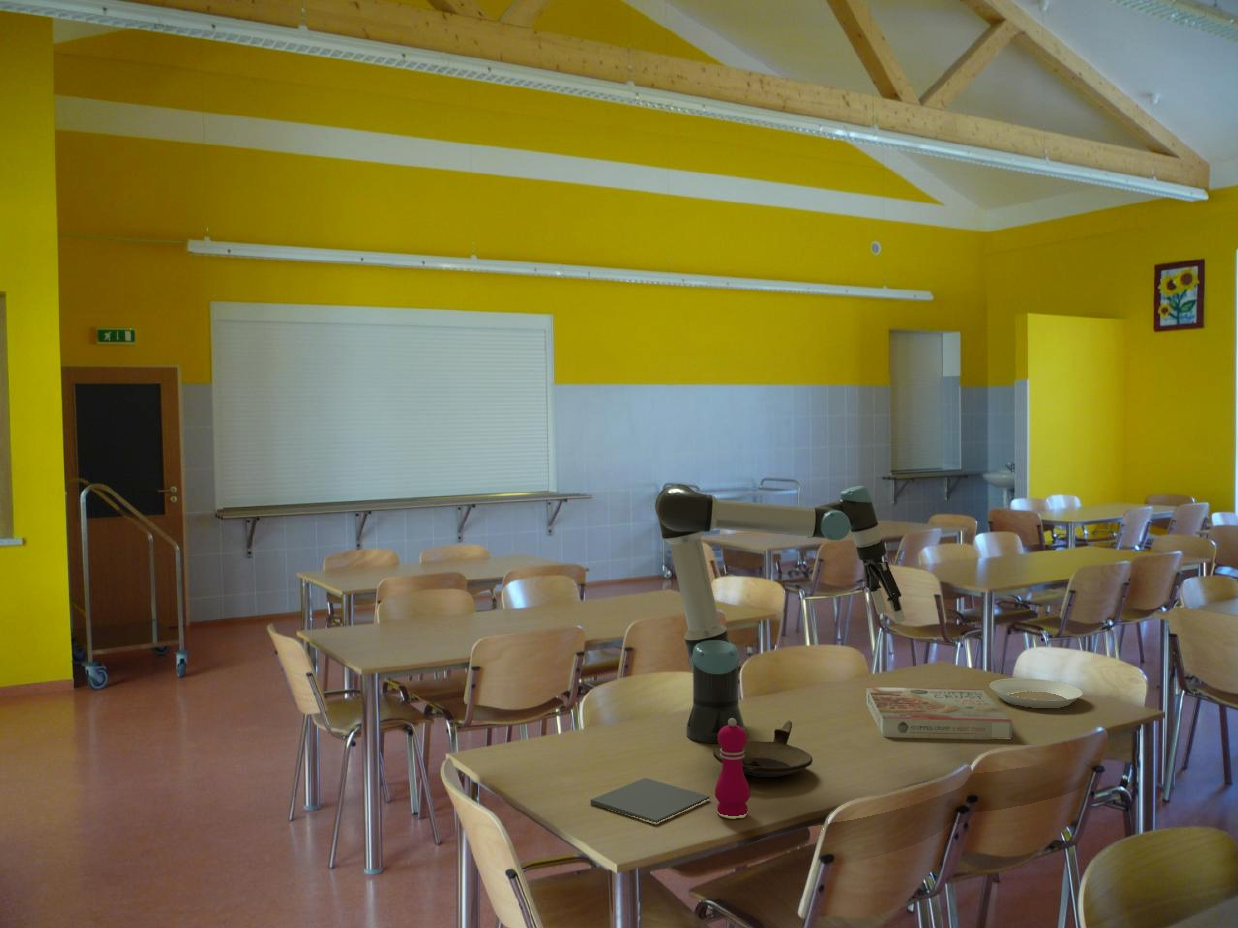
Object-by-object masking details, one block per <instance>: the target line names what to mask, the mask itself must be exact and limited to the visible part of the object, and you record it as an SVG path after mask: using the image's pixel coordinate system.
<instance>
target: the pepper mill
mask: <svg viewBox="0 0 1238 928" xmlns="http://www.w3.org/2000/svg"><path fill="white" fill-rule="evenodd" d="M728 724H729V725H727V726H724V727H723V728H722V729H721V730H720V731H719V733H718V743H717V744H719V746H720V748H719V749H720V752H721V753H720V756H721V757H722V761H723V763H721V764H722V765H721V767H722V768H721V772H720V774H719V777H718V779H717V782H716V784H715V787H714V797H715V799H716V801H718V803H717V805H716V809H717V810H716V811H718V812H719V813H720V814H723V815H728V816H739V815H744V814H746V813H747V811H749V808H748V804H747V802H748V801H749V800H750V797H751V791H750V787H749V783H748V781H747V779H746V776H745V774H744V773H743V769H742V764H743V763H742V758H743V757H744V756H745V755H744V751H745V750H744V749H743V747H744V746H745V745H746V743H747V741H748V735H747V733H746V730H745V731H744V730H743V729H742V728H741V727H739V726H737V725H736V724H737V722H736V720H735V719H734V718H730V719H729V720H728Z"/></svg>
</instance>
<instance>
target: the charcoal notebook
mask: <svg viewBox="0 0 1238 928" xmlns="http://www.w3.org/2000/svg"><path fill="white" fill-rule="evenodd" d="M710 797H711V795H706V794H703V793H700V792H696V791H692V790H689V789H686V788H684V787H683V788H682V787H679V786H676V785H675V786H674V785H673V784H668V783H664V782H661V781H658V780H654V779H651V778H647V777H644V778H641V779H639V780H637V781H633V782H631V783H628V784H626V785H624V786H622V787H618V788H616V789H614V790H611V791H609V792H607V793H604V794H601V795H599V796H595V797H593V798H591V799H590V805H591V804H592V806H595V805H596V806H595V807H598V806H599V807H598V808H601V807H603V808H602V809H604V808H606V809H605V810H607V809H610V810H613V811H616V812H620V813H623V814H627V815H630V816H635V817H638V818H642V819H645V820H649V821H652V822H656V823H657V822H659V821H661V820H663V819H666V818H668V817H670V816H672V815H675V814H677V813H679V812H682V811H684V810H686V809H688V808H690V807H692V806H694V805H696V804H699V803H701V802H702V801H704V800H707V799H709V798H710ZM710 799H711V798H710ZM610 810H609V811H610ZM613 811H612V812H613ZM616 812H615V813H616Z"/></svg>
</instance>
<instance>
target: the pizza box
mask: <svg viewBox="0 0 1238 928" xmlns="http://www.w3.org/2000/svg"><path fill="white" fill-rule="evenodd" d="M865 700H866V702H865V703H866V705H867V708H868V710H869V711H870V714H871V715H872V718H873V720H874V721H875V723H876V726H877V727H878V730H879V732H880V733H881V736H882V737H883V738H906V739H908V738H914V739H917V738H918V739H952V740H953V739H957V740H989V739H999V738H1000V739H1001V738H1002V739H1004V738H1012V739H1013V720H1012V719H1011V718H1010V717H1009V716H1008V715H1007V714H1006V713H1005V712H1004V711H1003V709H1001V708H1000V707H999V706H998V705H997V703H996V702H995V701H994V700H993V699H992V698H991V697H990V696H989V695H988V694H987V693H986V692H985V691H984V689H982V688H951V687H949V688H948V687H947V688H943V687H939V688H938V687H894V686H893V687H892V686H891V687H889V686H866V699H865Z"/></svg>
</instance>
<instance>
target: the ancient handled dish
mask: <svg viewBox="0 0 1238 928" xmlns="http://www.w3.org/2000/svg"><path fill="white" fill-rule="evenodd" d="M792 728H793V722H792V721H791V720H790V719H789V720H787V721H786V722H785V723H784V725H783V726H782V727H781V728H775V729H774V732H773V733H774V736H773V741H759V740H757V741H756V740H747V743H746V745H745V746H744V747H743V749H744V750H745V751H744V755H745V756H744V757H743V758H742V769H743V774H744V775H749V776H752V777H759V778H777V777H782V776H786V775H791V774H793V773H797V772H799V771H802V770H803V769H806V768H808V767H809V766H811V765H812V764H813V759H814V758H813V757H812V755H811V754H810V753H808V752H806V751H805V750H804V749H801V748H799V747H796V746H792V745H789V744H788V742H789V738H790V736H791V732H792ZM720 749H721V748H718V747H715V748H714V749H713V750H712V754H713V757H714V759H716V760H717V761H718V762H719V763H721V764H722V763H723V761H722V757H721V756H720V753H721V752H720ZM754 764H755V765H756V766H754Z"/></svg>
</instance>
